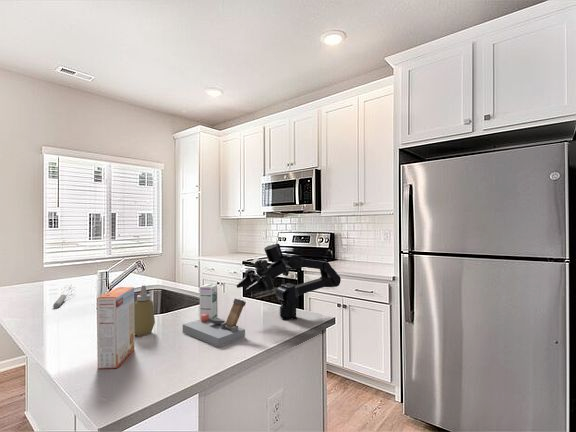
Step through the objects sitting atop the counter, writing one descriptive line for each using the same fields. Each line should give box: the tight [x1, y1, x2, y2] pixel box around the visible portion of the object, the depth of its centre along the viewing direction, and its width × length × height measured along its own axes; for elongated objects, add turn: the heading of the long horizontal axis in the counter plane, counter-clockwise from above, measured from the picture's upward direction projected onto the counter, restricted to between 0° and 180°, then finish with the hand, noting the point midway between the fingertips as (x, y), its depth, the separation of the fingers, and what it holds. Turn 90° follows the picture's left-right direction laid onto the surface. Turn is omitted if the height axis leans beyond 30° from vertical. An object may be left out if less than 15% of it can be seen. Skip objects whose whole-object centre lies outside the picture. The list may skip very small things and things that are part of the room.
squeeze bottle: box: [134, 284, 156, 337], centre depth 125 cm, size 8×8×18 cm
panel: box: [182, 317, 246, 348], centre depth 124 cm, size 12×22×5 cm, turn 49°
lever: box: [224, 298, 247, 330], centre depth 123 cm, size 2×4×11 cm, turn 49°
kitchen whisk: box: [52, 284, 76, 309], centre depth 172 cm, size 6×34×6 cm, turn 23°
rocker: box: [208, 318, 226, 324], centre depth 127 cm, size 5×4×1 cm
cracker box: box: [96, 286, 135, 370], centre depth 103 cm, size 14×6×21 cm, turn 5°
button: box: [201, 314, 209, 322], centre depth 131 cm, size 3×3×2 cm
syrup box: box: [199, 283, 219, 320], centre depth 144 cm, size 6×6×14 cm
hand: (241, 288), depth 134 cm, fingers open, 9 cm apart
